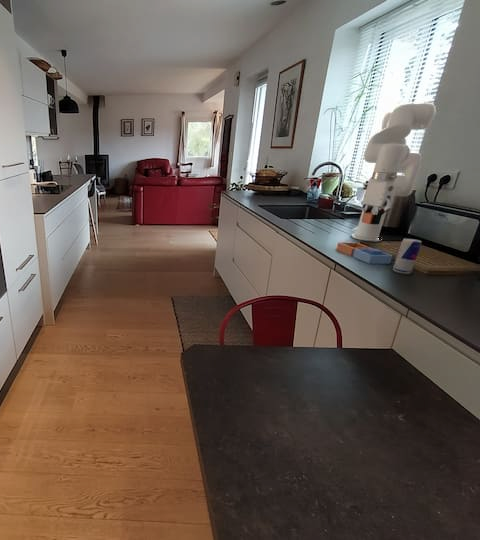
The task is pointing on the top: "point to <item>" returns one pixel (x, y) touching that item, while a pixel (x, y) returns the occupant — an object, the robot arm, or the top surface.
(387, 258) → the blue bin
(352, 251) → the terracotta bin
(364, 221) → the terracotta block
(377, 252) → the blue block
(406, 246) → the energy drink
